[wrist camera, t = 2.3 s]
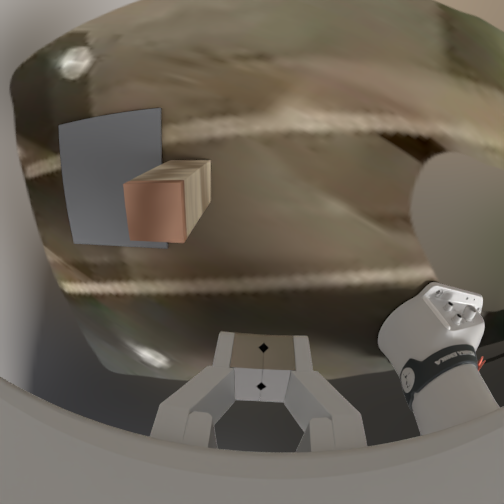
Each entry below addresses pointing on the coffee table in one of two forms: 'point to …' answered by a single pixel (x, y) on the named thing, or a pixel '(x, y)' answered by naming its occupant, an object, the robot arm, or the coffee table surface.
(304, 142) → the coffee table surface
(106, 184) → the rubber mat
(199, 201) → the birch block
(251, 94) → the coffee table surface
